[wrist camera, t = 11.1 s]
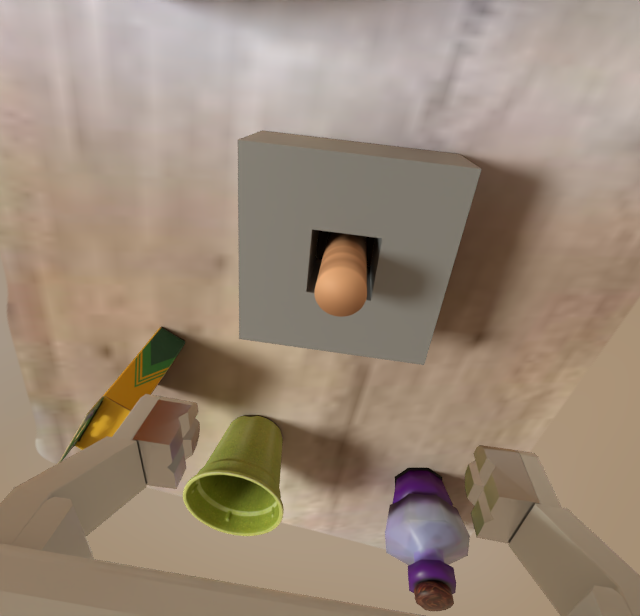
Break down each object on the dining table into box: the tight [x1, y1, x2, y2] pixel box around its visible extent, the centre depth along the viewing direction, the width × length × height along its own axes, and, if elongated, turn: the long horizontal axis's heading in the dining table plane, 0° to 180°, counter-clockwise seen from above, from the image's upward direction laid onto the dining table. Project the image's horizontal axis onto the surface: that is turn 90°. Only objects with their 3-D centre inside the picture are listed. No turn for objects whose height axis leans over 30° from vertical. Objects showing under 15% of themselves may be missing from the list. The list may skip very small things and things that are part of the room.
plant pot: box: [183, 416, 283, 536], centre depth 39 cm, size 9×9×9 cm
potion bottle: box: [385, 468, 470, 611], centre depth 39 cm, size 9×9×12 cm
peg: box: [314, 232, 367, 317], centre depth 26 cm, size 3×3×10 cm
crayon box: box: [59, 327, 185, 463], centre depth 34 cm, size 7×3×12 cm, turn 143°
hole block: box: [238, 131, 481, 365], centre depth 28 cm, size 14×14×6 cm
